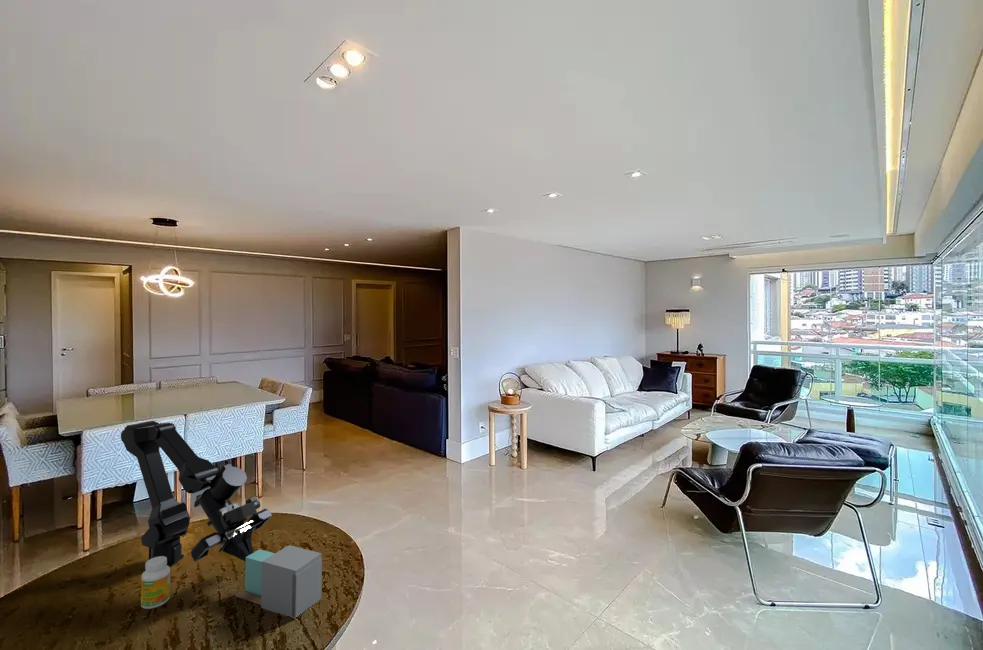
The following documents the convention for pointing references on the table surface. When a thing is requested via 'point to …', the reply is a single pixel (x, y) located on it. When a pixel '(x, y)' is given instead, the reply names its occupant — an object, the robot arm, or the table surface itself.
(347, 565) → the table surface
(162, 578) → the supplement bottle
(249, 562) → the slider
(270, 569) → the socket
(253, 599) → the track
